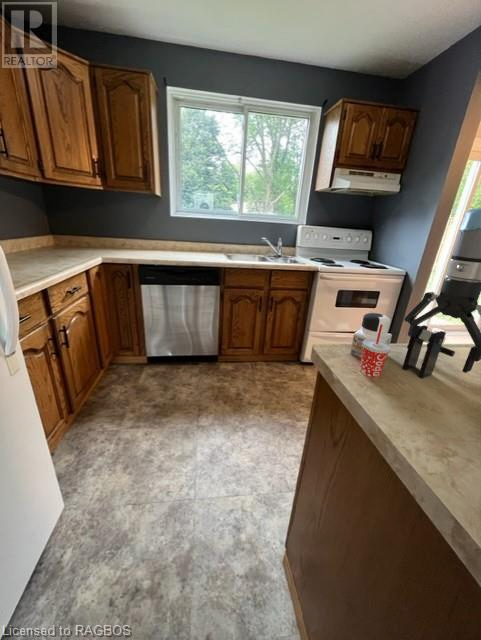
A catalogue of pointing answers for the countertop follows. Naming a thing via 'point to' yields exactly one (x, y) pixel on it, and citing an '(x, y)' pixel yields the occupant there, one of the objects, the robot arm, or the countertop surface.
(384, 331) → the container
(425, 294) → the robot arm
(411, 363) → the bracket
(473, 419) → the countertop surface
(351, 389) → the countertop surface
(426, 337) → the lever
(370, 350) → the beverage cup
